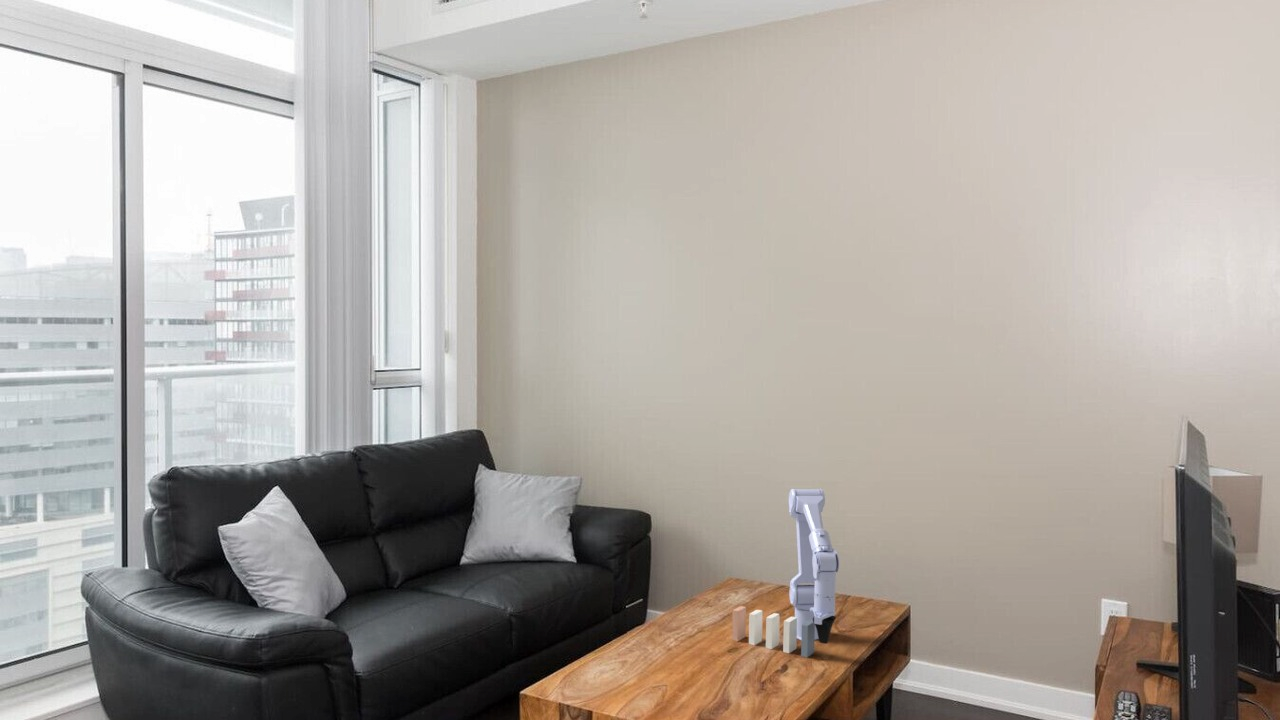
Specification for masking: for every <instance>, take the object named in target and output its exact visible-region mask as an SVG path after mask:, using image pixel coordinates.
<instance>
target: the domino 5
mask: <svg viewBox="0 0 1280 720" xmlns="http://www.w3.org/2000/svg"><path fill="white" fill-rule="evenodd" d="M814 639H815V624H814V622H813V621H811V620H808V621H807V622H805V623H804V624H802V640H800V641H801V646H800V647H801V649H800V650H801V651H800V656H801V657H804V658H808V657H810V656H811V655H813V654H814V653H815V640H814Z"/></svg>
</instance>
